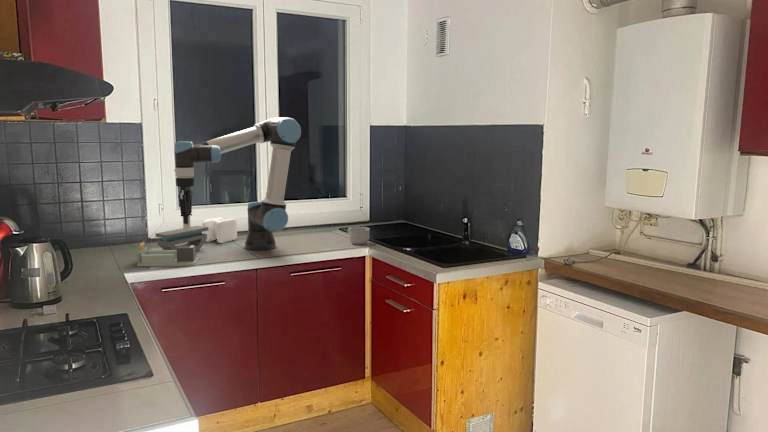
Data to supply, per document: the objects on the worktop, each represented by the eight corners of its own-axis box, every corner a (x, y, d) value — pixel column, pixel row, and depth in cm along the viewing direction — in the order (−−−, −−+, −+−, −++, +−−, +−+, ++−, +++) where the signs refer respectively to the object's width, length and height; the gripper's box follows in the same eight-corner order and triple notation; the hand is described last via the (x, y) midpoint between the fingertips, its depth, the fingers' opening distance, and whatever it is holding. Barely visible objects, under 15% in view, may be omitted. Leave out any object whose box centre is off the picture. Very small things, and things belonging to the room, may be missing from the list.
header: (199, 259, 272) (199, 239, 271) (194, 265, 260) (194, 245, 259) (144, 259, 269) (143, 240, 268) (137, 266, 257) (136, 245, 256)
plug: (177, 261, 262) (176, 247, 261) (179, 259, 267) (179, 245, 266) (193, 261, 263) (193, 247, 262) (195, 258, 268) (195, 245, 267)
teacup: (373, 244, 310) (373, 229, 309) (355, 246, 304) (355, 231, 303) (359, 239, 321) (359, 225, 320) (341, 241, 315) (341, 226, 314)
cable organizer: (218, 244, 304) (217, 222, 302) (202, 242, 308) (201, 220, 306) (237, 239, 317) (237, 218, 315) (222, 237, 321) (221, 216, 320)
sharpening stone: (168, 258, 272) (167, 235, 270) (156, 256, 276) (155, 233, 274) (209, 249, 293) (208, 227, 292) (197, 247, 297) (196, 225, 295)
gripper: (180, 175, 266) (183, 227, 270) (171, 178, 253) (173, 233, 257) (197, 175, 266) (199, 228, 270) (189, 178, 253) (191, 233, 257)
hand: (187, 230), depth 263 cm, fingers closed
